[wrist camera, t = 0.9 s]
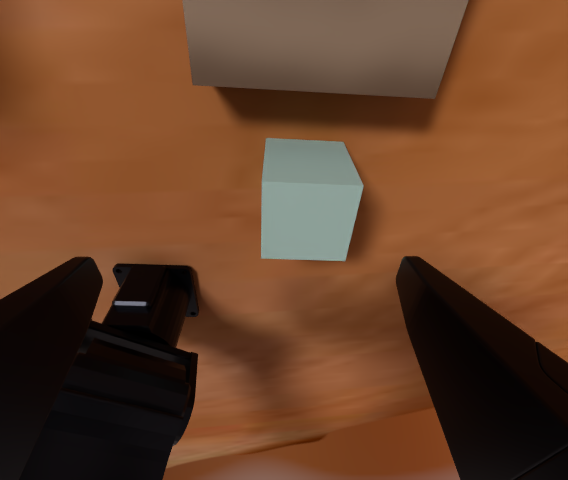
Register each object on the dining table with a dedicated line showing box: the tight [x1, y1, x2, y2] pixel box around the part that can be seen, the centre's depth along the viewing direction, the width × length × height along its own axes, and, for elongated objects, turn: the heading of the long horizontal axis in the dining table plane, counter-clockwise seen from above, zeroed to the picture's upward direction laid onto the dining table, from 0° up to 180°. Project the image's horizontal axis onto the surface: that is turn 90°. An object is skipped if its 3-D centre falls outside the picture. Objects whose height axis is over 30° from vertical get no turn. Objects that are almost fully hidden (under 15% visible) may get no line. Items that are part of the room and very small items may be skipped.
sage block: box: [261, 138, 363, 261], centre depth 19 cm, size 5×5×6 cm
